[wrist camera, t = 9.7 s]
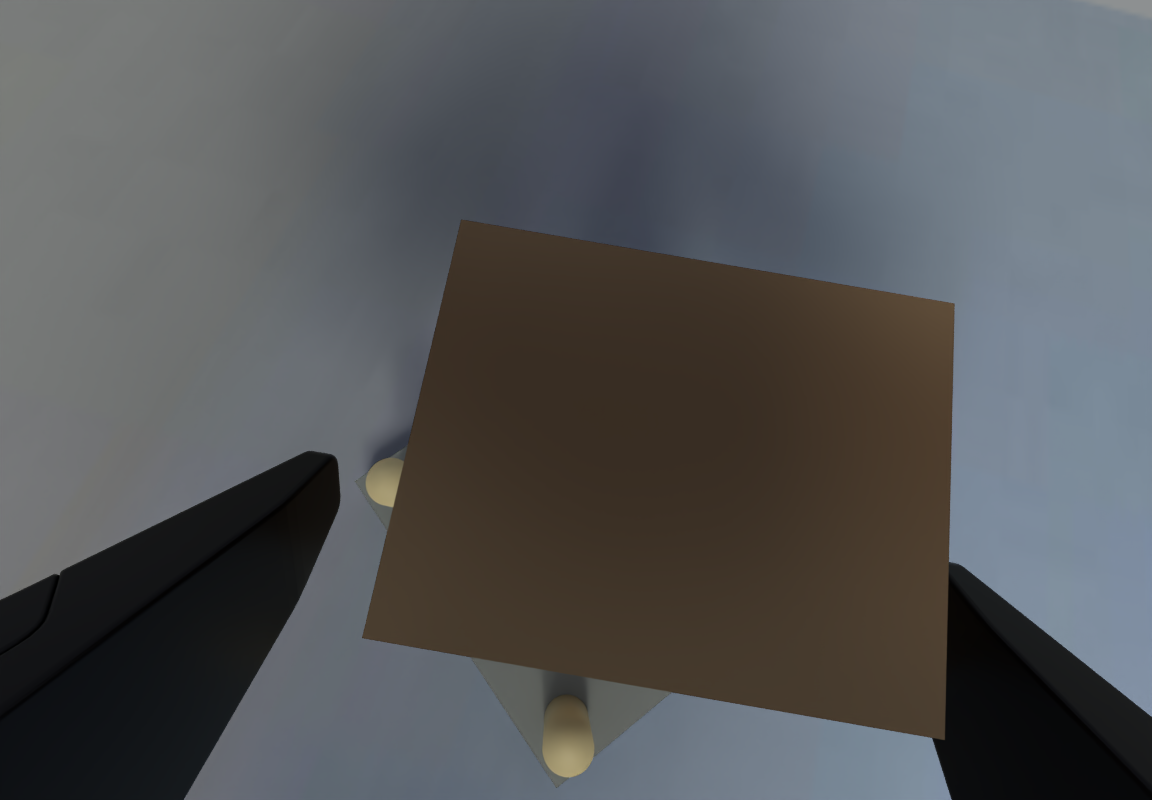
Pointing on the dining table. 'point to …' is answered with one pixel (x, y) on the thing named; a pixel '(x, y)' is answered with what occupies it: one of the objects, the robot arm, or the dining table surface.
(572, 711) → the peg plate
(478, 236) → the walnut shelf block
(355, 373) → the dining table surface
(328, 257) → the dining table surface
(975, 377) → the dining table surface
